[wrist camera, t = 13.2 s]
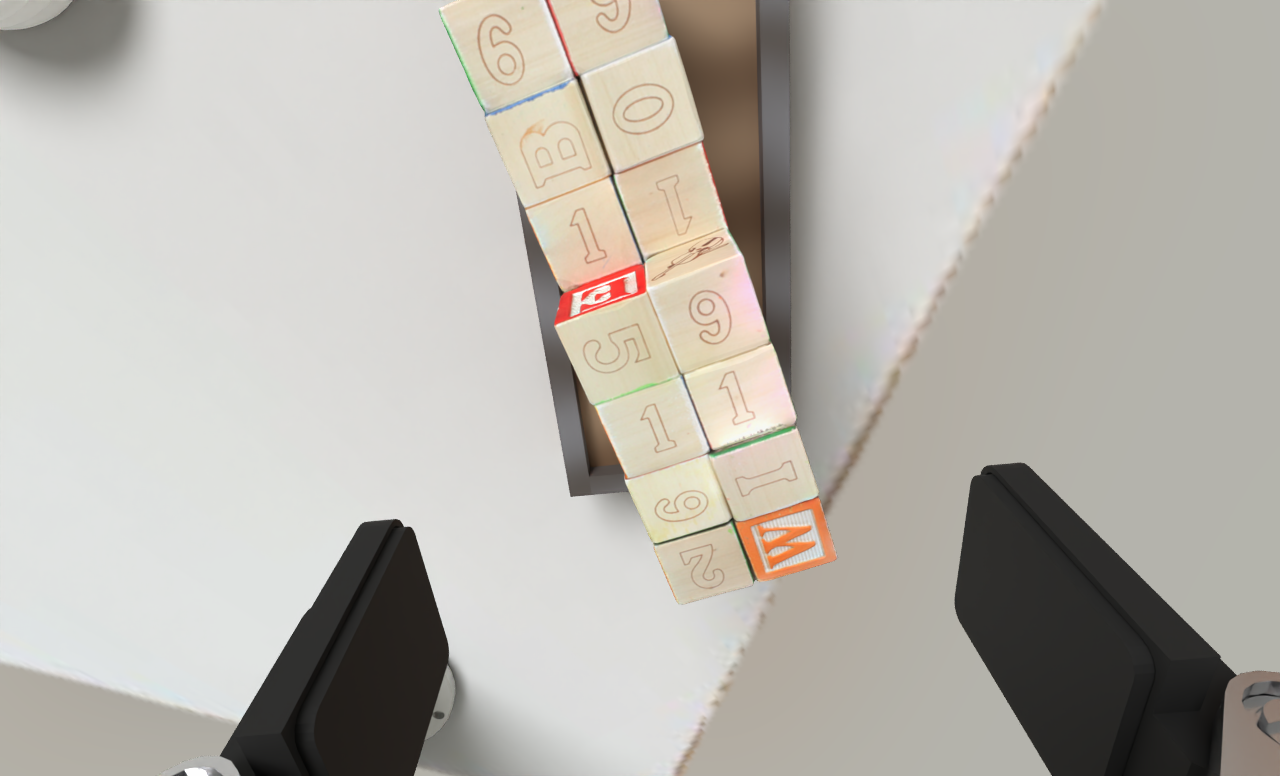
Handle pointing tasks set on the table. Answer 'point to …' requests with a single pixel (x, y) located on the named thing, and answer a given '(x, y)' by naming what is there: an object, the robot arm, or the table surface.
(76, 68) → the table surface
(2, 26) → the coaster
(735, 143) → the wooden tray
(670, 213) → the stack of blocks
